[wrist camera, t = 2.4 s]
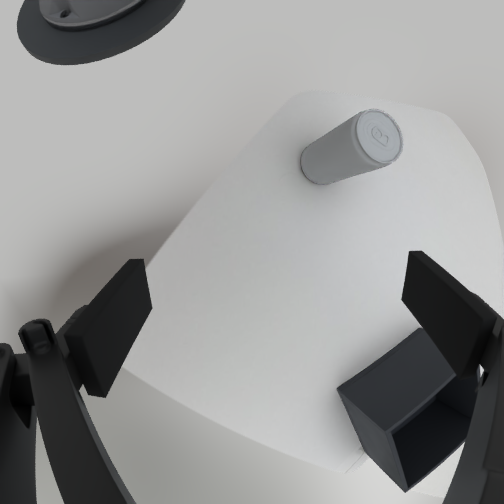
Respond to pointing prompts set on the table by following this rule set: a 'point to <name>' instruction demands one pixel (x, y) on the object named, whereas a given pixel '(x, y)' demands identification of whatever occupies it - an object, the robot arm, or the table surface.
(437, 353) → the trash bin
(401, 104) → the table surface
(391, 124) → the beverage can
